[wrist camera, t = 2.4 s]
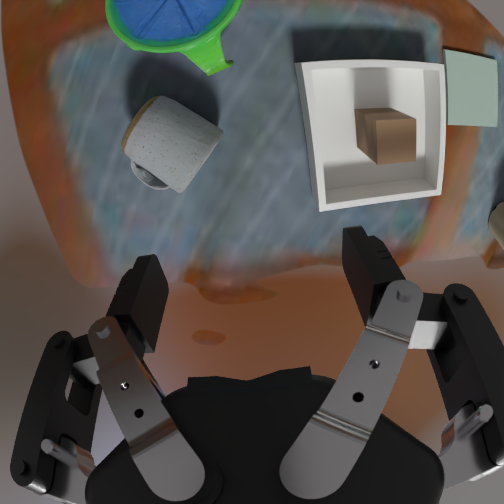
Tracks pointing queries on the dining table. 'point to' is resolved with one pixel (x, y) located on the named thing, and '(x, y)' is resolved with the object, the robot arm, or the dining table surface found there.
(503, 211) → the flower pot
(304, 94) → the white bin
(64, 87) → the dining table surface
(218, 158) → the dining table surface
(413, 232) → the dining table surface
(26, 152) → the dining table surface
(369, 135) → the walnut block
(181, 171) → the ceramic mug
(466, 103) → the sage mat
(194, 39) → the snack cup
